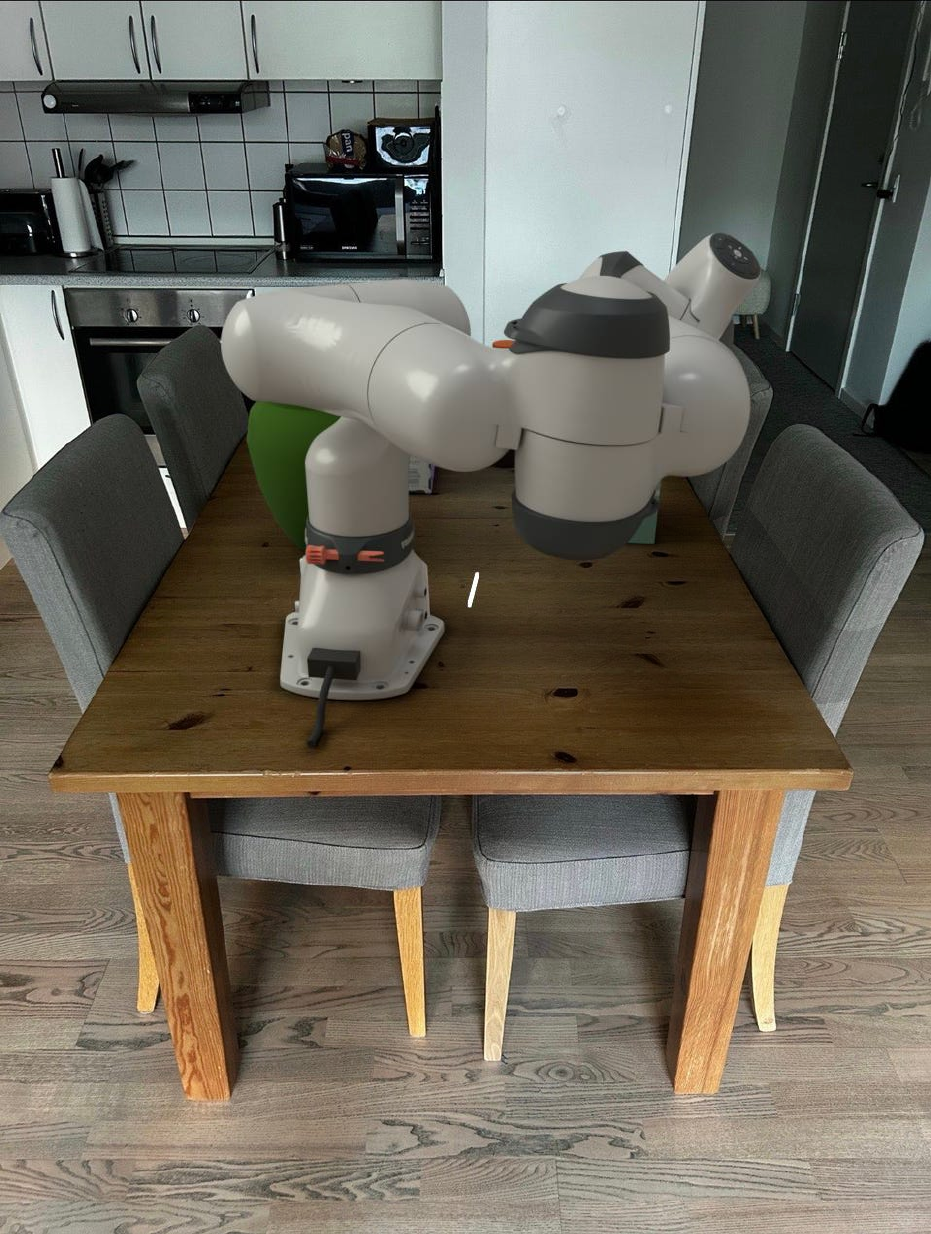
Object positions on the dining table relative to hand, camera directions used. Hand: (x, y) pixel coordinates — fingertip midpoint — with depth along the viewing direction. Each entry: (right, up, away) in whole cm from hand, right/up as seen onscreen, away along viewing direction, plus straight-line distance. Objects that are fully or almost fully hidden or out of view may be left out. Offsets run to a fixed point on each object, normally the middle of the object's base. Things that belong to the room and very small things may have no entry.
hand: (609, 394), depth 132 cm
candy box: (-28, -8, +25) cm, 38 cm away
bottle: (-13, -4, +33) cm, 35 cm away
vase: (-39, -21, +2) cm, 44 cm away
